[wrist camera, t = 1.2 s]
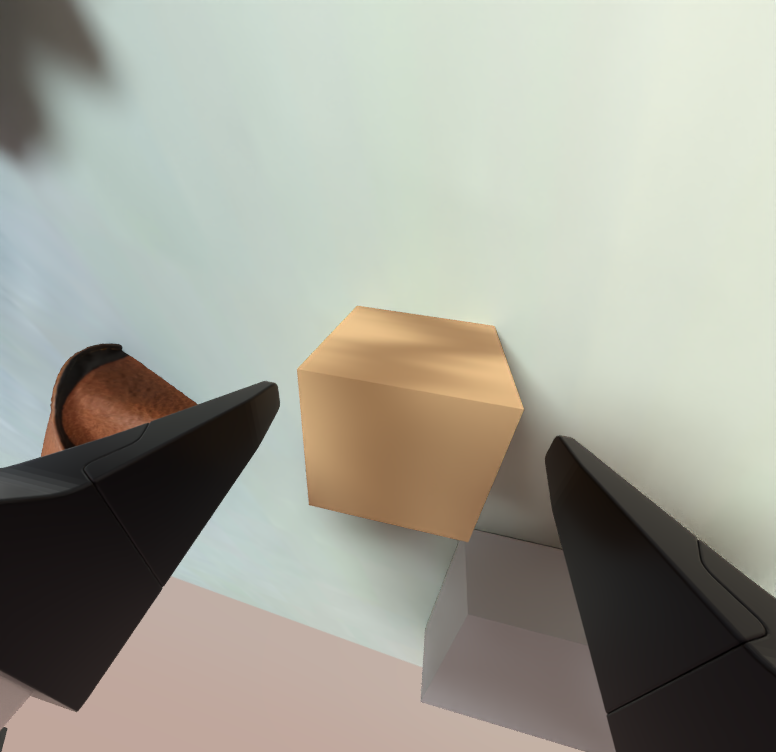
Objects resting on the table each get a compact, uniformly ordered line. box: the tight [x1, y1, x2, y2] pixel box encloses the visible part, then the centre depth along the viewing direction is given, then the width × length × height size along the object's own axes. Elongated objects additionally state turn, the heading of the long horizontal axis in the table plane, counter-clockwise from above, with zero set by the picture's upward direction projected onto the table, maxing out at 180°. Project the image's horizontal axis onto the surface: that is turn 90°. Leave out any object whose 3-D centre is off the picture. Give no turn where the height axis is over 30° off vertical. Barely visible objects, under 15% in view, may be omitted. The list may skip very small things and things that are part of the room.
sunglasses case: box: [41, 344, 198, 457], centre depth 18 cm, size 18×7×7 cm
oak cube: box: [297, 306, 524, 542], centre depth 10 cm, size 5×5×5 cm
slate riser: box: [421, 530, 616, 752], centre depth 17 cm, size 14×14×4 cm
